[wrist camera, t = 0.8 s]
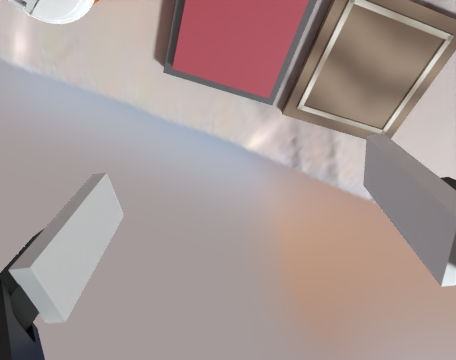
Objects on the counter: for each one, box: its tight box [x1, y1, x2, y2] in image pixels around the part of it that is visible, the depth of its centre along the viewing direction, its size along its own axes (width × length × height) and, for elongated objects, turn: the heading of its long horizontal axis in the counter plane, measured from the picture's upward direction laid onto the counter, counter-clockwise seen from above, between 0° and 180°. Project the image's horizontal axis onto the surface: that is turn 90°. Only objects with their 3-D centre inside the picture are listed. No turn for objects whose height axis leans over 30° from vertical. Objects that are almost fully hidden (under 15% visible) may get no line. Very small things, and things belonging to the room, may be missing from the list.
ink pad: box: [163, 0, 317, 105], centre depth 33 cm, size 14×14×2 cm
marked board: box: [282, 0, 456, 140], centre depth 36 cm, size 16×16×1 cm
